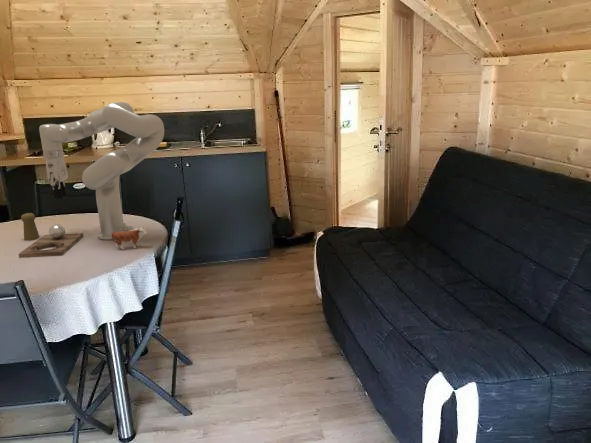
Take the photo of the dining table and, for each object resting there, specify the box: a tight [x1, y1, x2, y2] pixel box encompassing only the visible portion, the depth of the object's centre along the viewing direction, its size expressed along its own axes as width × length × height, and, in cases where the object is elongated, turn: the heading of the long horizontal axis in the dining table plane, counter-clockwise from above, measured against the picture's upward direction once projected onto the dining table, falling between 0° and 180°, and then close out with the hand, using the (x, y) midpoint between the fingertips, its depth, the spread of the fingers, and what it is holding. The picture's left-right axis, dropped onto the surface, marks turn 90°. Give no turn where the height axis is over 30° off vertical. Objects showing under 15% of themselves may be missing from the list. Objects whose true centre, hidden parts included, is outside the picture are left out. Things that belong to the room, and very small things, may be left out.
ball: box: [48, 223, 66, 239], centre depth 204 cm, size 6×6×6 cm
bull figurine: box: [111, 227, 148, 251], centre depth 193 cm, size 4×13×8 cm, turn 98°
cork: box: [20, 212, 41, 241], centre depth 209 cm, size 6×6×11 cm
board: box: [18, 232, 84, 258], centre depth 199 cm, size 24×16×2 cm, turn 4°
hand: (60, 196), depth 209 cm, fingers open, 3 cm apart
